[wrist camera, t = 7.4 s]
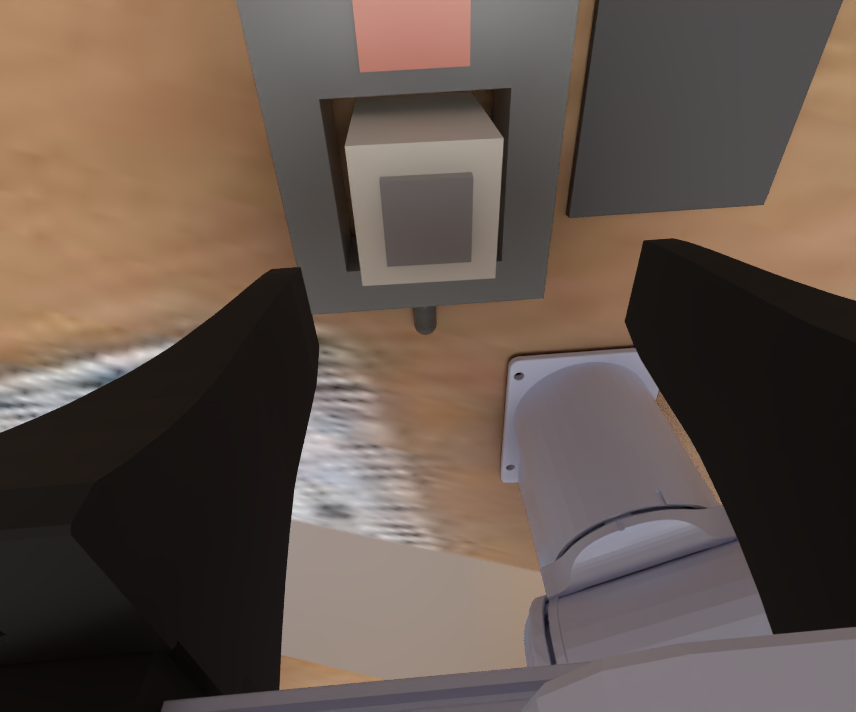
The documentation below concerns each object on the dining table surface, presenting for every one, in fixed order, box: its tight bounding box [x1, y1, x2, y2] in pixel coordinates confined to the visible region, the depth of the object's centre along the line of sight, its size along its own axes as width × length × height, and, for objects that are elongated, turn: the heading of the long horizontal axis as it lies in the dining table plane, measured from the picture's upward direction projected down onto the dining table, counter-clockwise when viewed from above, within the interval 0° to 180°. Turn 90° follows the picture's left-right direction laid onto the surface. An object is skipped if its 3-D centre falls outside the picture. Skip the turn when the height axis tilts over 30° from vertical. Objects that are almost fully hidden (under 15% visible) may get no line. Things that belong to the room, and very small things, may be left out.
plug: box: [345, 92, 504, 286], centre depth 16 cm, size 4×4×6 cm
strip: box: [236, 0, 579, 335], centre depth 14 cm, size 21×9×6 cm, turn 2°
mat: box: [567, 0, 843, 218], centre depth 18 cm, size 8×8×1 cm
